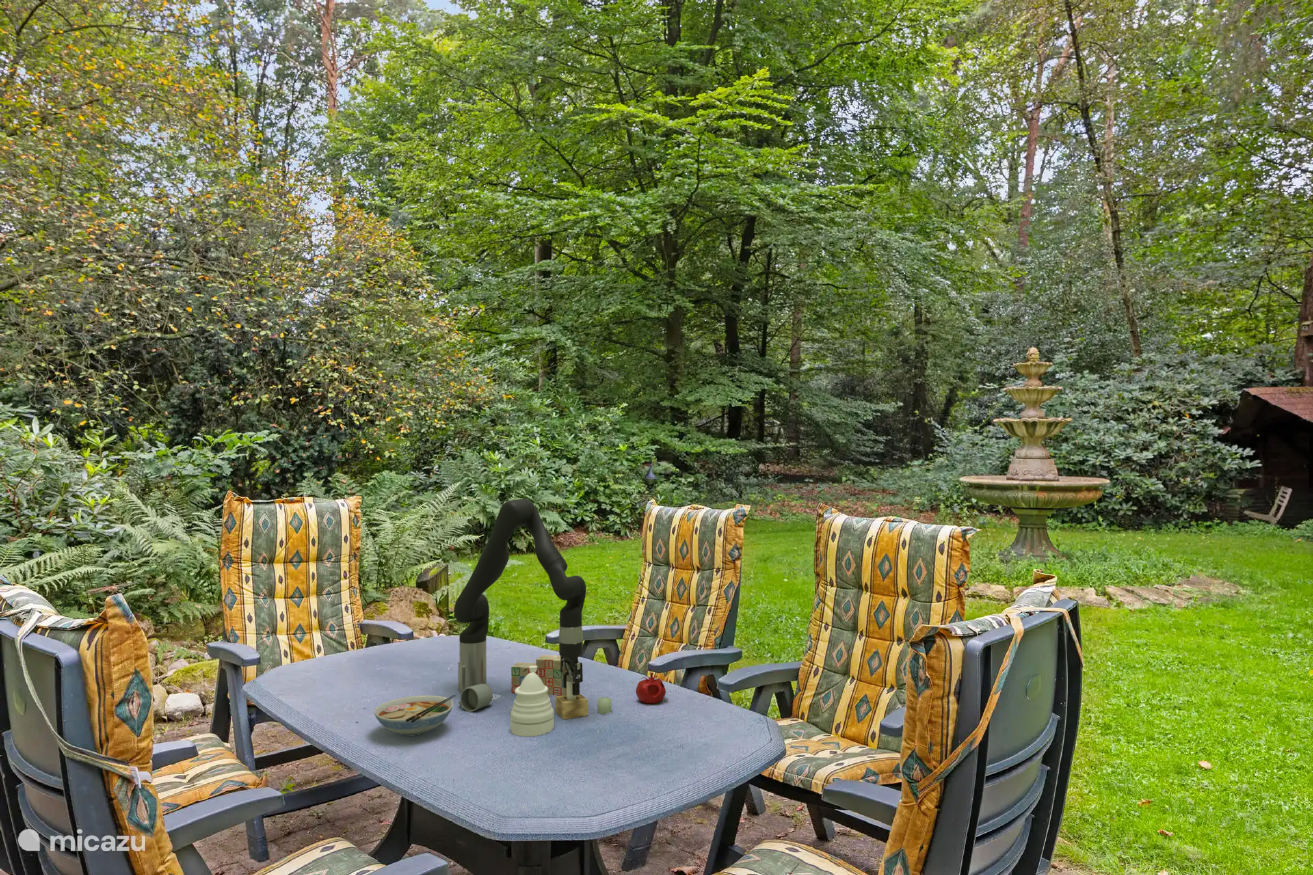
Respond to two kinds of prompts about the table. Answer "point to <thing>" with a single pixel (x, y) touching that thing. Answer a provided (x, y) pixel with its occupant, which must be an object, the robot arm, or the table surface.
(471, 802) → the table surface
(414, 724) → the ramen bowl
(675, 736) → the table surface
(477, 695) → the ceramic mug
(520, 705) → the honey pot
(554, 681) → the stack of blocks
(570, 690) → the cream capped cylinder
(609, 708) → the bead
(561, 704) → the bead block
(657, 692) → the pomegranate
